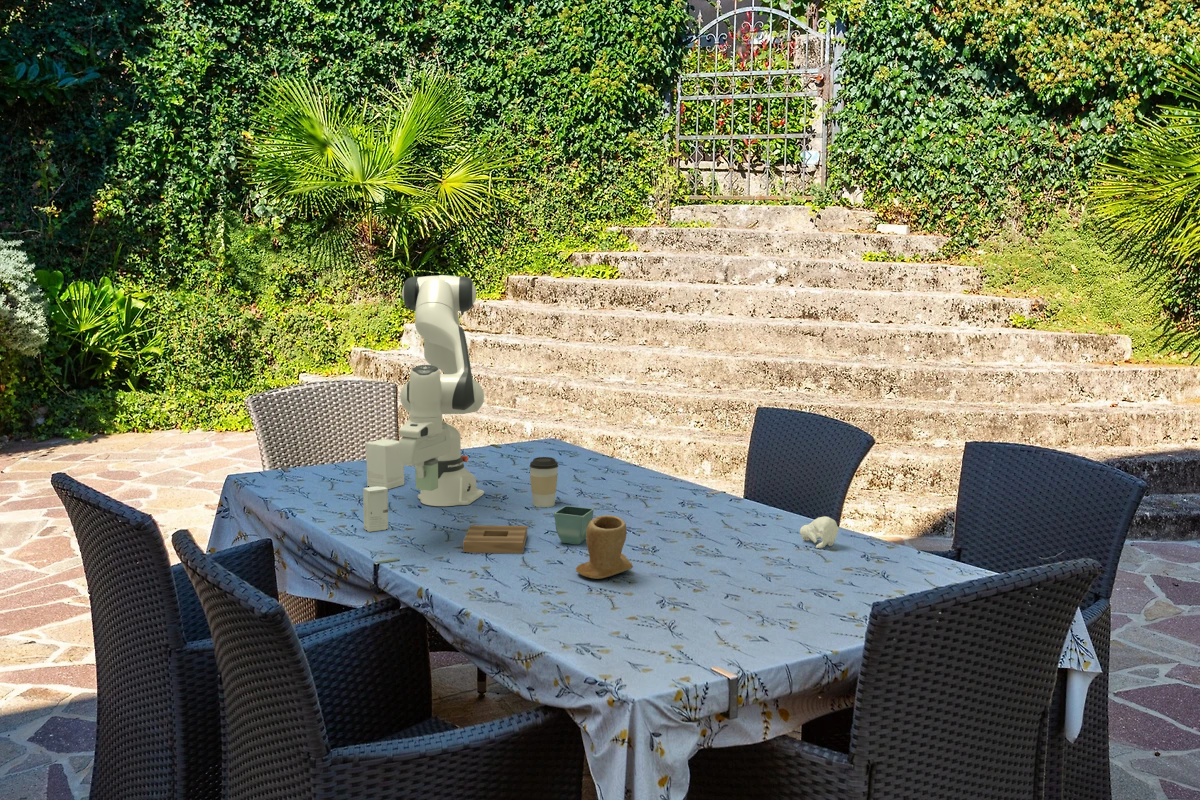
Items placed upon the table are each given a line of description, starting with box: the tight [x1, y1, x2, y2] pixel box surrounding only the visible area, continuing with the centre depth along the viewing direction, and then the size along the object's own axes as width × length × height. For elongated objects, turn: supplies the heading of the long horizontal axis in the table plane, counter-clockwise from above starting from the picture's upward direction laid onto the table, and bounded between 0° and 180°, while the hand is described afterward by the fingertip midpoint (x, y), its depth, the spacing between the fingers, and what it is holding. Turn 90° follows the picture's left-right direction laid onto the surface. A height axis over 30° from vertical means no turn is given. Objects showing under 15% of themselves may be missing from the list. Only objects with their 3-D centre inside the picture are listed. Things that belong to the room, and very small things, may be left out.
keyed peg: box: [414, 459, 438, 491], centre depth 297 cm, size 4×5×8 cm
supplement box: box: [365, 438, 405, 490], centre depth 362 cm, size 9×9×15 cm
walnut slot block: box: [462, 524, 528, 554], centre depth 300 cm, size 16×16×3 cm
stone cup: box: [575, 514, 634, 580], centre depth 275 cm, size 15×12×15 cm
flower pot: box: [554, 505, 594, 545], centre depth 302 cm, size 9×9×9 cm
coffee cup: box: [529, 456, 559, 508], centre depth 340 cm, size 9×9×15 cm
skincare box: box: [362, 486, 389, 533], centre depth 312 cm, size 6×4×12 cm
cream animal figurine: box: [799, 516, 840, 549], centre depth 303 cm, size 6×8×12 cm
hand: (426, 475), depth 297 cm, fingers closed on keyed peg, 3 cm apart
